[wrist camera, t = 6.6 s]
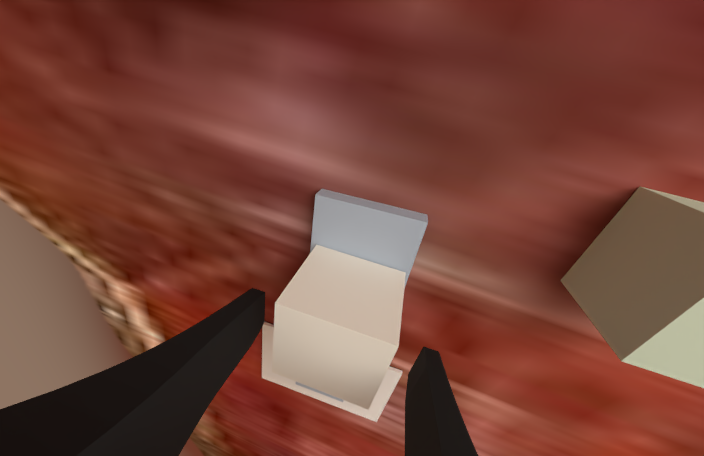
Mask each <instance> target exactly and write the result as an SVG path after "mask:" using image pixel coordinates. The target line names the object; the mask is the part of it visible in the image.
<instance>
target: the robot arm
mask: <svg viewBox="0 0 704 456" xmlns="http://www.w3.org/2000/svg"><path fill="white" fill-rule="evenodd" d="M264 320H265V292H263V291H260V290H257V289H254V288H252V289H250V290H248V291H247V292H246V293H244V294H243V295H241V296H240V297H238V298H237V299H235V300H234V301H232V302H231V303H229V304H228V305H226V306H224V307H223V308H221V309H220V310H218V311H217V312H215V313H214V314H212V315H210V316H209V317H207V318H206V319H204V320H202V321H201V322H199V323H197V324H196V325H194V326H192V327H190V328H189V329H187V330H185V331H183V332H182V333H180V334H178V335H176V336H175V337H173V338H171V339H169V340H167V341H165V342H163V343H162V344H160V345H158V346H156V347H154V348H152V349H150V350H148V351H146V352H144V353H142V354H139V355H137V356H135V357H133V358H131V359H129V360H127V361H125V362H122V363H120V364H118V365H116V366H113V367H111V368H109V369H106V370H104V371H102V372H100V373H97V374H94V375H92V376H89V377H87V378H84V379H82V380H79V381H77V382H74V383H72V384H69V385H68V386H65V387H62V388H59V389H57V390H54V391H52V392H48V393H46V394H43V395H40V396H37V397H34V398H31V399H29V400H26V401H23V402H20V403H17V404H15V405H12V406H9V407H6V408H3V409H0V456H179V454H180V452H181V451H182V449H183V447H184V445H185V444H186V442H187V440H188V439H189V437H190V435H191V433H192V432H193V430H194V428H195V427H196V425H197V424H198V422H199V420H200V419H201V417H202V415H203V414H204V412H205V410H206V409H207V407H208V405H209V404H210V402H211V401H212V399H213V398H214V396H215V395H216V393H217V392H218V391H219V389H220V388H221V387H222V385H223V384H224V382H225V381H226V380H227V378H228V377H229V375H230V374H231V373H232V371H233V370H234V369H235V367H236V366H237V364H238V363H239V362H240V360H241V359H242V358H243V356H244V355H245V353H246V352H247V351H248V349H249V348H250V346H251V345H252V343H253V342H254V340H255V338H256V337H257V335H258V333H259V331H260V329H261V328H262V326H263V324H264ZM405 456H478V454H477V452H476V450H475V447H474V445H473V443H472V440H471V438H470V436H469V433H468V431H467V429H466V426H465V424H464V421H463V419H462V416H461V413H460V411H459V408H458V406H457V403H456V401H455V398H454V395H453V392H452V390H451V387H450V384H449V381H448V378H447V375H446V372H445V369H444V366H443V363H442V360H441V357H440V354H439V352H438V351H435V350H432V349H429V348H426V347H423V349H422V350H421V352H420V354H419V356H418V358H417V359H416V361H415V363H414V365H413V367H412V368H411V370H410V372H409V374H408V382H407V391H406V400H405Z"/></svg>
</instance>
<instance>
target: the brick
mask: <svg viewBox="0 0 704 456" xmlns="http://www.w3.org/2000/svg"><path fill="white" fill-rule="evenodd" d="M405 276H406V272H402V271H399V270H396V269H393V268H390V267H387V266H383V265H380V264H377V263H374V262H371V261H367V260H364V259H361V258H358V257H355V256H352V255H348V254H345V253H342V252H339V251H336V250H332V249H329V248H326V247H323V246H320V245H316V246H315V247H314V249H313V250H312V252H311V253H310V254H309V256H308V257H307V259H306V260H305V261H304V263H303V264H302V266H301V267H300V268H299V270H298V271H297V273H296V274H295V275H294V277H293V278H292V280H291V281H290V282H289V284H288V285H287V287H286V288H285V289H284V291H283V292H282V294H281V295H280V296H279V298H278V299H277V301H276V302H275V313H274V336H273V358H272V372H273V373H275V374H278V375H281V376H283V377H286V378H288V379H291V380H293V381H296V382H298V383H301V384H304V385H306V386H309V387H311V388H314V389H316V390H319V391H322V392H324V393H327V394H329V395H332V396H334V397H337V398H339V399H342V400H345V401H347V402H350V403H352V404H355V405H357V406H360V407H363V408H365V409H368V410H369V408H370V406H371V404H372V401H373V399H374V397H375V395H376V393H377V391H378V389H379V387H380V385H381V383H382V380H383V378H384V376H385V374H386V372H387V370H388V368H389V366H390V364H391V361H392V359H393V357H394V355H395V353H396V351H397V349H398V347H399V338H400V327H401V317H402V307H403V297H404V287H405Z"/></svg>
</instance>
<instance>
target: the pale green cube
mask: <svg viewBox="0 0 704 456" xmlns="http://www.w3.org/2000/svg"><path fill="white" fill-rule="evenodd" d="M560 281H561V282H562V284H563V285H564V286H565V288H566V289H567V290H568V292H569V293H570V294H571V295H572V297H573V298H574V299H575V301H576V302H577V303H578V305H579V306H580V307H581V309H582V310H583V311H584V313H585V314H586V315H587V317H588V318H589V319H590V321H591V322H592V323H593V325H594V326H595V327H596V328H597V330H598V331H599V332H600V334H601V335H602V336H603V338H604V339H605V340H606V342H607V343H608V344H609V346H610V347H611V348H612V350H613V351H614V352H615V354H616V355H617V356H618V357H619V359H620V360H621V361H623V362H626V363H629V364H632V365H635V366H638V367H641V368H644V369H647V370H650V371H653V372H656V373H659V374H662V375H665V376H668V377H671V378H674V379H677V380H681V381H684V382H687V383H690V384H693V385H696V386H699V387H702V388H704V202H700V201H696V200H692V199H688V198H684V197H680V196H676V195H672V194H668V193H664V192H660V191H656V190H652V189H648V188H644V187H639V188H638V189H637V190H636V191H635V193H634V194H633V195H632V196H631V197H630V199H629V200H628V201H627V202H626V203H625V204H624V206H623V207H622V208H621V209H620V210H619V212H618V213H617V214H616V215H615V216H614V217H613V219H612V220H611V221H610V222H609V223H608V225H607V226H606V227H605V228H604V229H603V231H602V232H601V233H600V234H599V235H598V236H597V238H596V239H595V240H594V241H593V242H592V244H591V245H590V246H589V247H588V248H587V249H586V251H585V252H584V253H583V254H582V255H581V257H580V258H579V259H578V260H577V261H576V262H575V264H574V265H573V266H572V267H571V268H570V270H569V271H568V272H567V273H566V274H565V276H564V277H563V278H562V279H561V280H560Z"/></svg>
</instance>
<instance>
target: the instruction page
mask: <svg viewBox="0 0 704 456" xmlns="http://www.w3.org/2000/svg"><path fill="white" fill-rule="evenodd" d="M273 336H274V325H273V324H270V323H267V322H264V324H263V326H262V378H264V379H266V380H269V381H271V382H274V383H277V384H279V385H282V386H284V387H287V388H289V389H292V390H295V391H297V392H300V393H302V394H305V395H308V396H310V397H313V398H315V399H318V400H321V401H323V402H326V403H328V404H331V405H333V406H336V407H339V408H341V409H344V410H346V411H349V412H352V413H354V414H357V415H359V416H362V417H365V418H367V419H370V420H372V421H375V422H377V420H378V418H379V417H380V415H381V413H382V411H383V409H384V407H385V405H386V403H387V401H388V400H389V398H390V396H391V394H392V392H393V390H394V388H395V386H396V385H397V383H398V381H399V379H400V377H401V375H402V370H399V369H396V368H393V367H390V366H389V368H388V370H387V372H386V374H385V376H384V378H383V380H382V383H381V385H380V387H379V389H378V391H377V393H376V395H375V397H374V399H373V401H372V404H371V406H370V408H369V410H368V409H365V408H363V407H360V406H357V405H355V404H352V403H350V402H347V401H345V400H342V399H339V398H337V397H334V396H332V395H329V394H327V393H324V392H322V391H319V390H316V389H314V388H311V387H309V386H306V385H304V384H301V383H298V382H296V381H293V380H291V379H288V378H286V377H283V376H281V375H278V374H275V373H273V372H272V358H273Z"/></svg>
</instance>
